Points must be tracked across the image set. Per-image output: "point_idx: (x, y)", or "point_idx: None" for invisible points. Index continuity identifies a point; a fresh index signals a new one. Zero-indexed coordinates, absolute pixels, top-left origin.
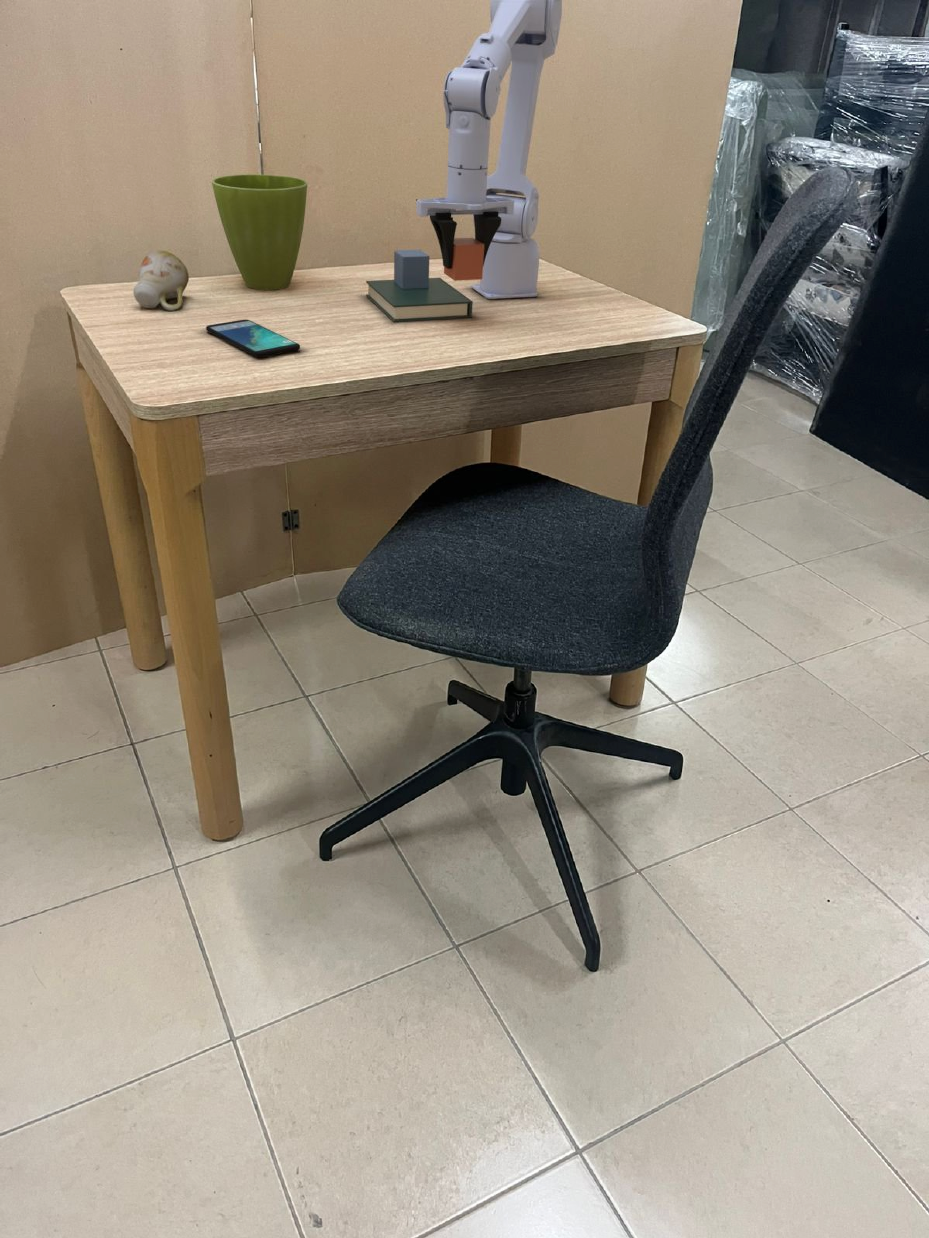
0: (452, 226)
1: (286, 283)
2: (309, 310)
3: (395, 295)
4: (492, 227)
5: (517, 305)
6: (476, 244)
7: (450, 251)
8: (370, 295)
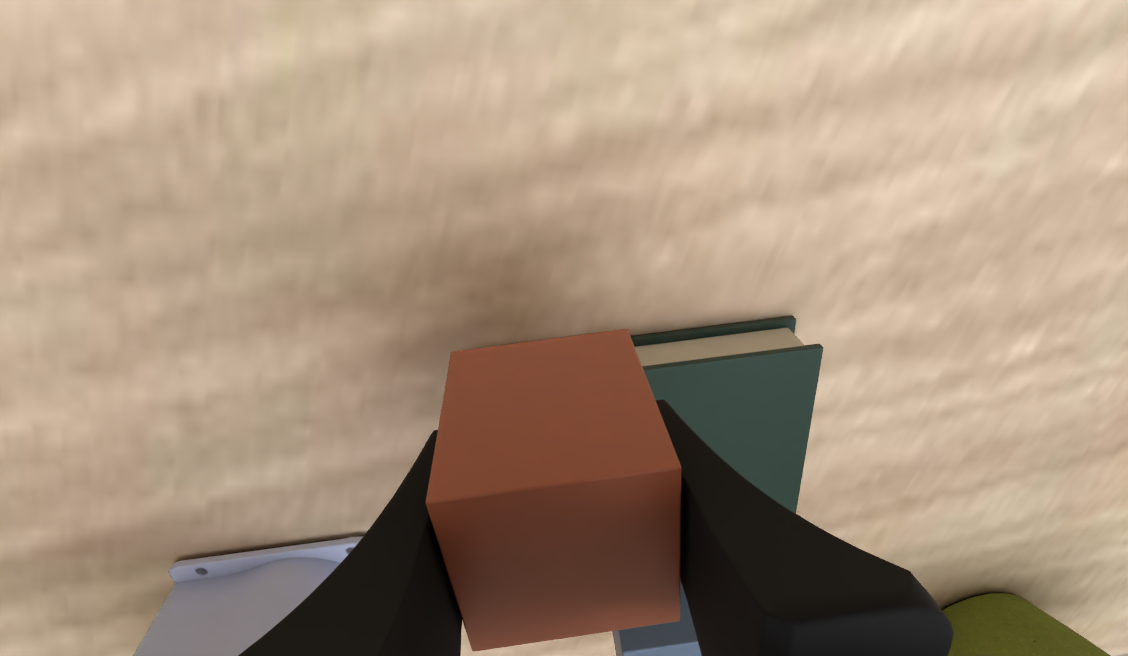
0: (796, 587)
1: (951, 618)
2: (990, 444)
3: (757, 465)
4: (319, 641)
5: (263, 485)
6: (497, 494)
7: (694, 456)
8: None
